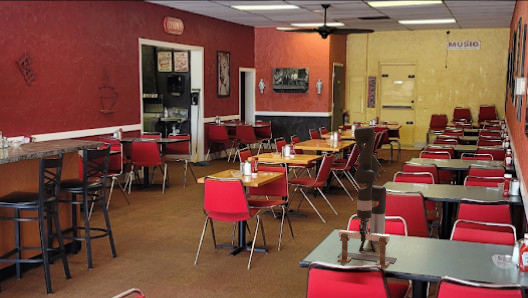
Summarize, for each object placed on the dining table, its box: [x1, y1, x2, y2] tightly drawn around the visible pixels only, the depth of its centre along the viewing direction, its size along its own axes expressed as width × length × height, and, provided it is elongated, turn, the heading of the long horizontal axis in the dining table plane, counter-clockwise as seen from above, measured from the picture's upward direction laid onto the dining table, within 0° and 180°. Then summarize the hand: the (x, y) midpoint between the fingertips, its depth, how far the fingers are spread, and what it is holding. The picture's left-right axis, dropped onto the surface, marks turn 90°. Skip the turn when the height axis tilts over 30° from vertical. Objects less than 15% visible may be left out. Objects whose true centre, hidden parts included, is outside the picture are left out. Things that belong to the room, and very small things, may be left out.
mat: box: [337, 251, 397, 265], centre depth 306 cm, size 9×30×1 cm, turn 68°
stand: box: [337, 234, 390, 269], centre depth 297 cm, size 6×26×15 cm, turn 68°
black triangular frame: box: [358, 228, 376, 253], centre depth 320 cm, size 9×6×12 cm, turn 77°
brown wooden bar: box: [338, 229, 391, 243], centre depth 296 cm, size 3×26×3 cm, turn 68°
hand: (363, 240), depth 297 cm, fingers closed on brown wooden bar, 3 cm apart
